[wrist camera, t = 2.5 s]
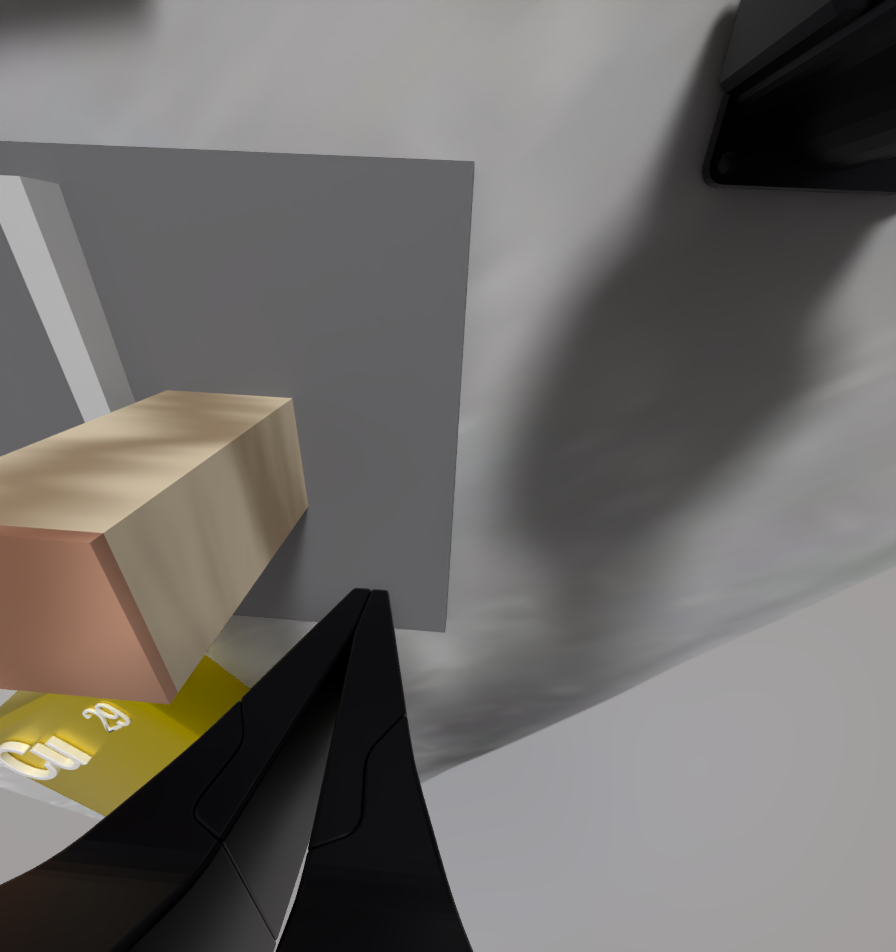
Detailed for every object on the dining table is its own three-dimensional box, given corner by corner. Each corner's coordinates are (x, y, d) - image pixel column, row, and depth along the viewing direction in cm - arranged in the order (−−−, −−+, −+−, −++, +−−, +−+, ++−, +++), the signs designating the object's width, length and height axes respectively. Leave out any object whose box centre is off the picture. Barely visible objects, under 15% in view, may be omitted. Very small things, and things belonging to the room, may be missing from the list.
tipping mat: (474, 167, 12) (474, 150, 10) (446, 620, 22) (443, 651, 20) (-253, 135, 13) (-369, 115, 11) (31, 586, 22) (-8, 613, 21)
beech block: (292, 398, 15) (89, 543, 7) (308, 506, 17) (170, 704, 10) (167, 390, 15) (-167, 523, 7) (199, 498, 18) (-25, 686, 10)
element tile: (189, 776, 33) (147, 850, 29) (25, 678, 28) (-56, 751, 23) (318, 733, 29) (292, 814, 25) (153, 605, 23) (82, 681, 19)
